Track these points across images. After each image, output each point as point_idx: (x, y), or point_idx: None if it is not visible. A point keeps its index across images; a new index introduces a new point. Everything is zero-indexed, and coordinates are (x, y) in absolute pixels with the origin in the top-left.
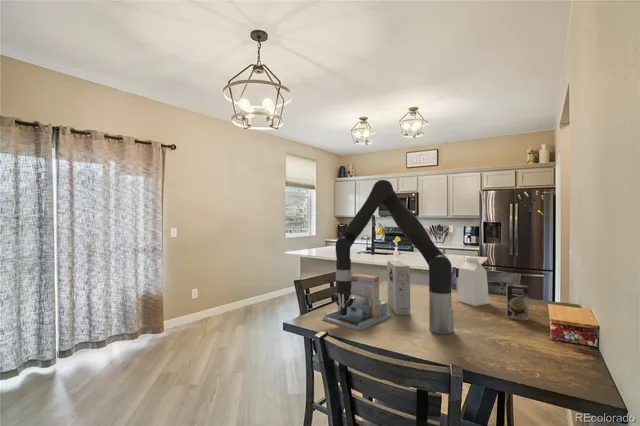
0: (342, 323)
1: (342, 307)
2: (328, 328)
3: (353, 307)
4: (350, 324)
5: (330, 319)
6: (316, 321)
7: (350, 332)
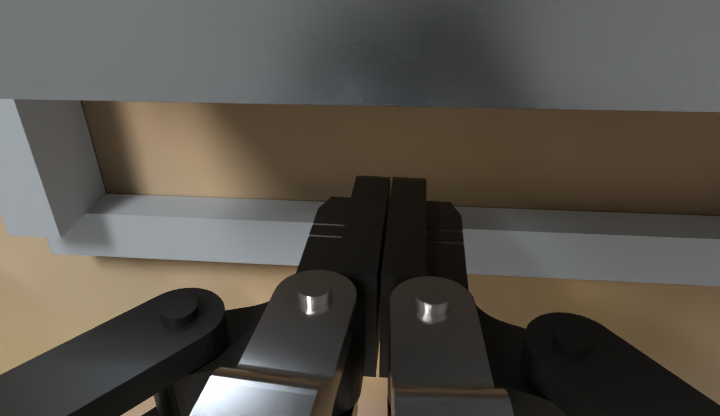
0: (469, 272)
1: (366, 360)
2: (385, 402)
3: (602, 106)
4: (617, 246)
5: (208, 259)
6: (89, 323)
7: (707, 361)
